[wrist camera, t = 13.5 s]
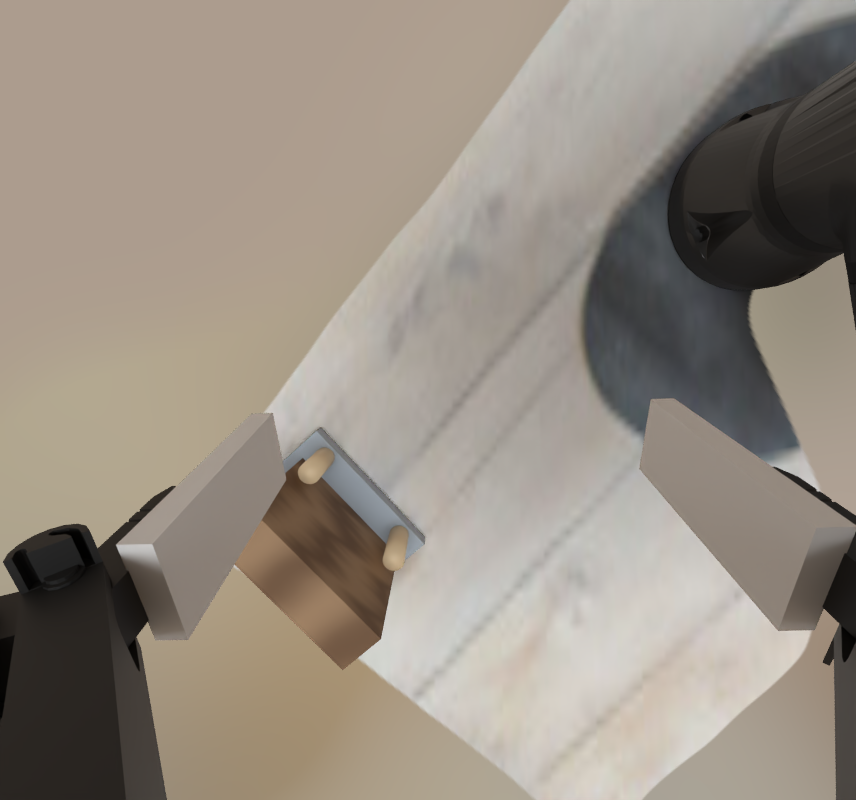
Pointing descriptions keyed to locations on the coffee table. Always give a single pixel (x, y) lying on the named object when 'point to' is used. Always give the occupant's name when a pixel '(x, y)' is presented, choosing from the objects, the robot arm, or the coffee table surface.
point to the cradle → (357, 495)
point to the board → (321, 567)
